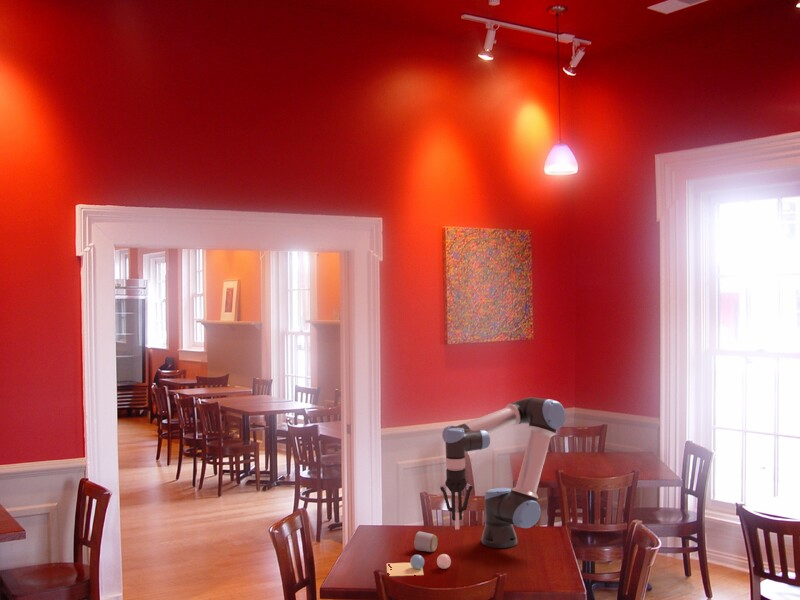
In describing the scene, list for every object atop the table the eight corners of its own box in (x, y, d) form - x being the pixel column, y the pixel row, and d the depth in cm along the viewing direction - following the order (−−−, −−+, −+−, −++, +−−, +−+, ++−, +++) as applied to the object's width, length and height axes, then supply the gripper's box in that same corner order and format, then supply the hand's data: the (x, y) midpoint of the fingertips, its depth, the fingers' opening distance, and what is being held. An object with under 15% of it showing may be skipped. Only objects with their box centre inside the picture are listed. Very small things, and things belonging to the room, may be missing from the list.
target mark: (421, 562, 312) (421, 562, 312) (423, 575, 298) (423, 574, 298) (386, 563, 312) (386, 563, 312) (387, 576, 298) (387, 576, 298)
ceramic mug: (431, 554, 321) (431, 536, 321) (413, 552, 325) (413, 533, 325) (441, 547, 331) (441, 529, 331) (424, 545, 334) (423, 527, 334)
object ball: (421, 550, 308) (408, 554, 308) (422, 555, 302) (408, 559, 302) (425, 564, 308) (412, 568, 308) (426, 569, 302) (412, 573, 302)
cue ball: (437, 550, 307) (434, 564, 307) (439, 556, 302) (436, 570, 302) (450, 552, 308) (448, 566, 308) (453, 558, 302) (450, 572, 303)
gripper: (471, 465, 309) (472, 524, 310) (438, 466, 309) (439, 526, 309) (473, 469, 302) (475, 530, 302) (440, 471, 301) (441, 531, 302)
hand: (457, 528), depth 306 cm, fingers closed
